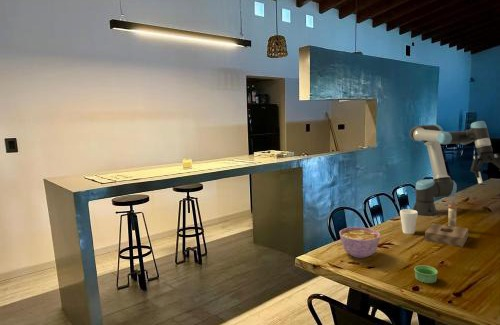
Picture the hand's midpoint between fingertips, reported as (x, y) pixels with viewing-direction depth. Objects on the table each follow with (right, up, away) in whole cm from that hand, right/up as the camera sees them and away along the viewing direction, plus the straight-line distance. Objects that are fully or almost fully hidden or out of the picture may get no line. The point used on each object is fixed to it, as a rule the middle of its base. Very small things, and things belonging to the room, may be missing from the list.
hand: (492, 182), depth 189 cm
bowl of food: (-83, -37, -18) cm, 92 cm away
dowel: (-18, -30, +9) cm, 36 cm away
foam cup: (-44, -31, +10) cm, 55 cm away
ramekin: (-63, -40, -47) cm, 88 cm away
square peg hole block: (-29, -32, -3) cm, 43 cm away
